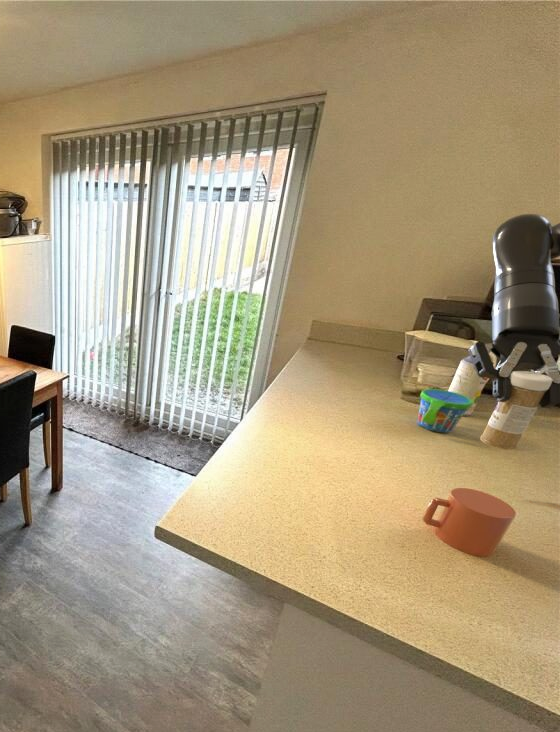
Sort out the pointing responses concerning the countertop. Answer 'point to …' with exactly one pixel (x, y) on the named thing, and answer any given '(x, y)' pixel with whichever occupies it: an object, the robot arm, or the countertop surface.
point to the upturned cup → (471, 520)
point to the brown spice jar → (516, 410)
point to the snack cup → (441, 409)
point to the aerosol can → (468, 383)
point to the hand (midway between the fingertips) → (526, 402)
